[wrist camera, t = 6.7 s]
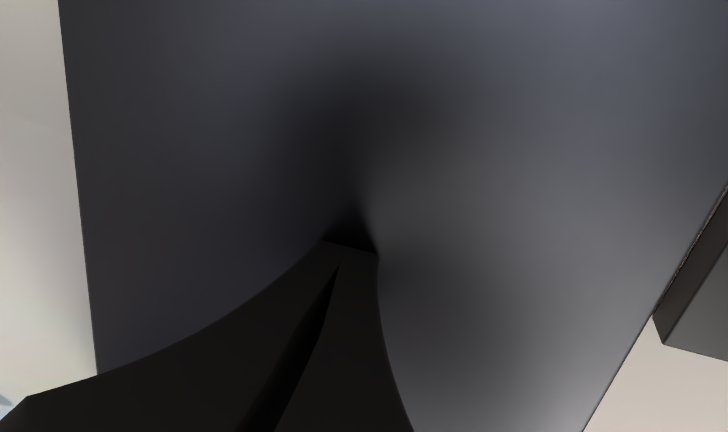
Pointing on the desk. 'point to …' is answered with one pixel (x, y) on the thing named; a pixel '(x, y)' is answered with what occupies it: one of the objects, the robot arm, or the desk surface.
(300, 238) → the dark grey box lid
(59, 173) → the desk surface
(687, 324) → the control block
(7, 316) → the desk surface
